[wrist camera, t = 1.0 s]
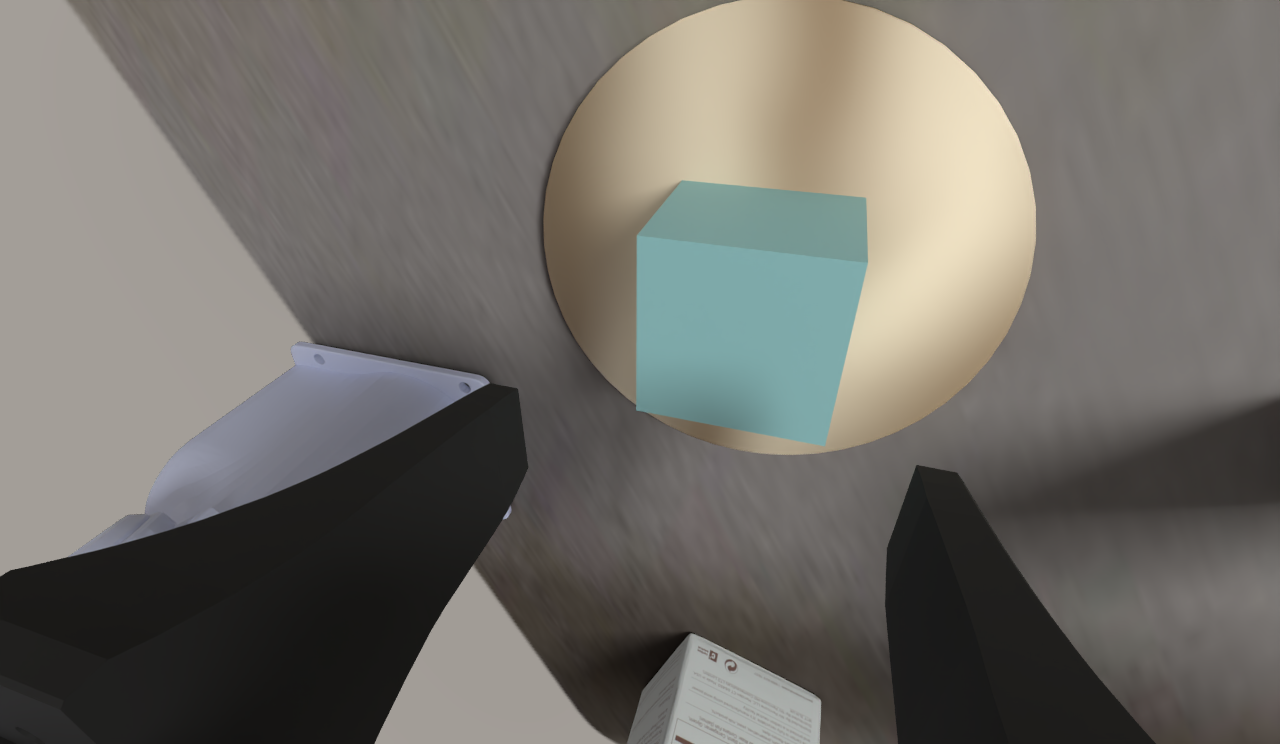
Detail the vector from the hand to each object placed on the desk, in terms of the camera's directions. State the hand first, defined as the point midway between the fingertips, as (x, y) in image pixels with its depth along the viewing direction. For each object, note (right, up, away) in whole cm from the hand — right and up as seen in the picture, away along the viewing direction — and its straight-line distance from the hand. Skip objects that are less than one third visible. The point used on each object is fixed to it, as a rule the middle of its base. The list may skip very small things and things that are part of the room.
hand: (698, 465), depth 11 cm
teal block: (+3, +5, +7) cm, 9 cm away
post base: (+3, +5, +7) cm, 9 cm away
